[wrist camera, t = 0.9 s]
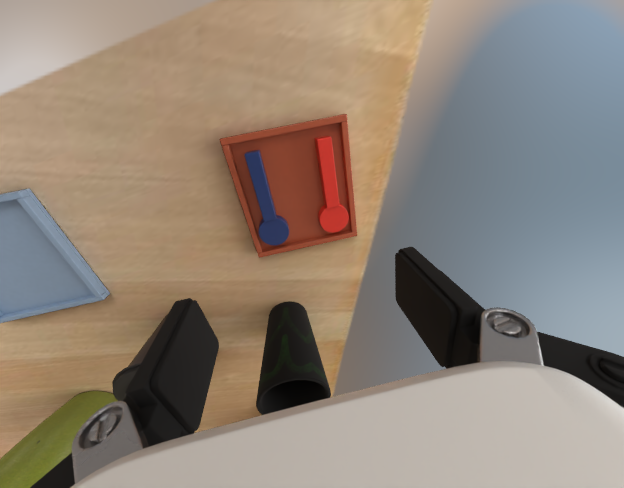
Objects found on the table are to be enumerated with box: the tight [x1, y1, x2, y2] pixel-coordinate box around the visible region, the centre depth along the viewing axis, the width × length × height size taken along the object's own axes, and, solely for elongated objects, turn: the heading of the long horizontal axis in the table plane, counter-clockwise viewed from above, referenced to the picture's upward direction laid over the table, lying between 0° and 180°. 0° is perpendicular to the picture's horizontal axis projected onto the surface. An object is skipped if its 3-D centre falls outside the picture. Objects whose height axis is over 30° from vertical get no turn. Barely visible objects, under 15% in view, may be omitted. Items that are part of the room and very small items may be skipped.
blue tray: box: [0, 189, 110, 323], centre depth 25 cm, size 13×12×1 cm
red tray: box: [220, 114, 357, 258], centre depth 26 cm, size 13×12×1 cm
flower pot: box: [0, 391, 118, 488], centre depth 30 cm, size 15×15×16 cm
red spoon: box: [315, 136, 349, 233], centre depth 25 cm, size 10×3×2 cm, turn 10°
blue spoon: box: [244, 150, 289, 245], centre depth 25 cm, size 10×3×2 cm, turn 10°
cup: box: [256, 302, 331, 415], centre depth 29 cm, size 8×8×12 cm
